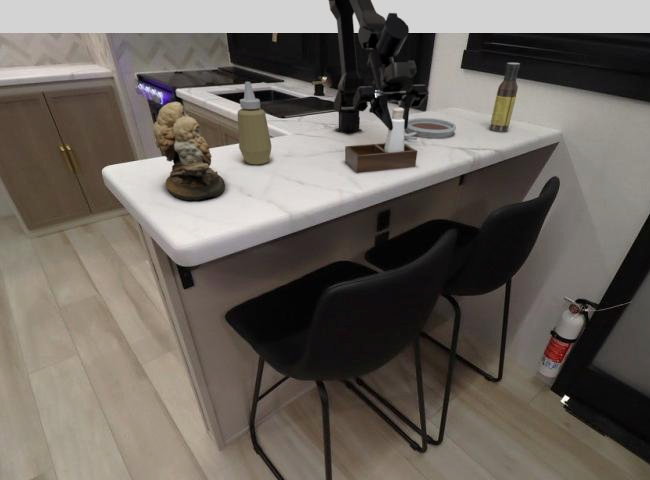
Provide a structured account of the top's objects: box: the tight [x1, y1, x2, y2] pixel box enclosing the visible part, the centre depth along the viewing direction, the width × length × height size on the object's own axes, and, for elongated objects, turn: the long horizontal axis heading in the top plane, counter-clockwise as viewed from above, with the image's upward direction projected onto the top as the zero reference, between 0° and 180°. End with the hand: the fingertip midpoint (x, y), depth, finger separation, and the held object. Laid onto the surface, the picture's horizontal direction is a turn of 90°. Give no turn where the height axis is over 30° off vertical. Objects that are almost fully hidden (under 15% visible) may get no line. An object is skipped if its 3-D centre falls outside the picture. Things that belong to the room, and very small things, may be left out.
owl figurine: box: [152, 101, 226, 201], centre depth 78 cm, size 18×12×17 cm, turn 34°
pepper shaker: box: [384, 106, 406, 153], centre depth 95 cm, size 5×5×11 cm
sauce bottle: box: [489, 62, 521, 133], centre depth 125 cm, size 6×6×20 cm
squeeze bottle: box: [237, 81, 272, 165], centre depth 92 cm, size 8×8×18 cm
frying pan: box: [404, 117, 457, 141], centre depth 122 cm, size 17×3×28 cm
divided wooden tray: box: [344, 142, 418, 174], centre depth 98 cm, size 9×16×4 cm, turn 111°
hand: (398, 129), depth 94 cm, fingers closed on pepper shaker, 4 cm apart
